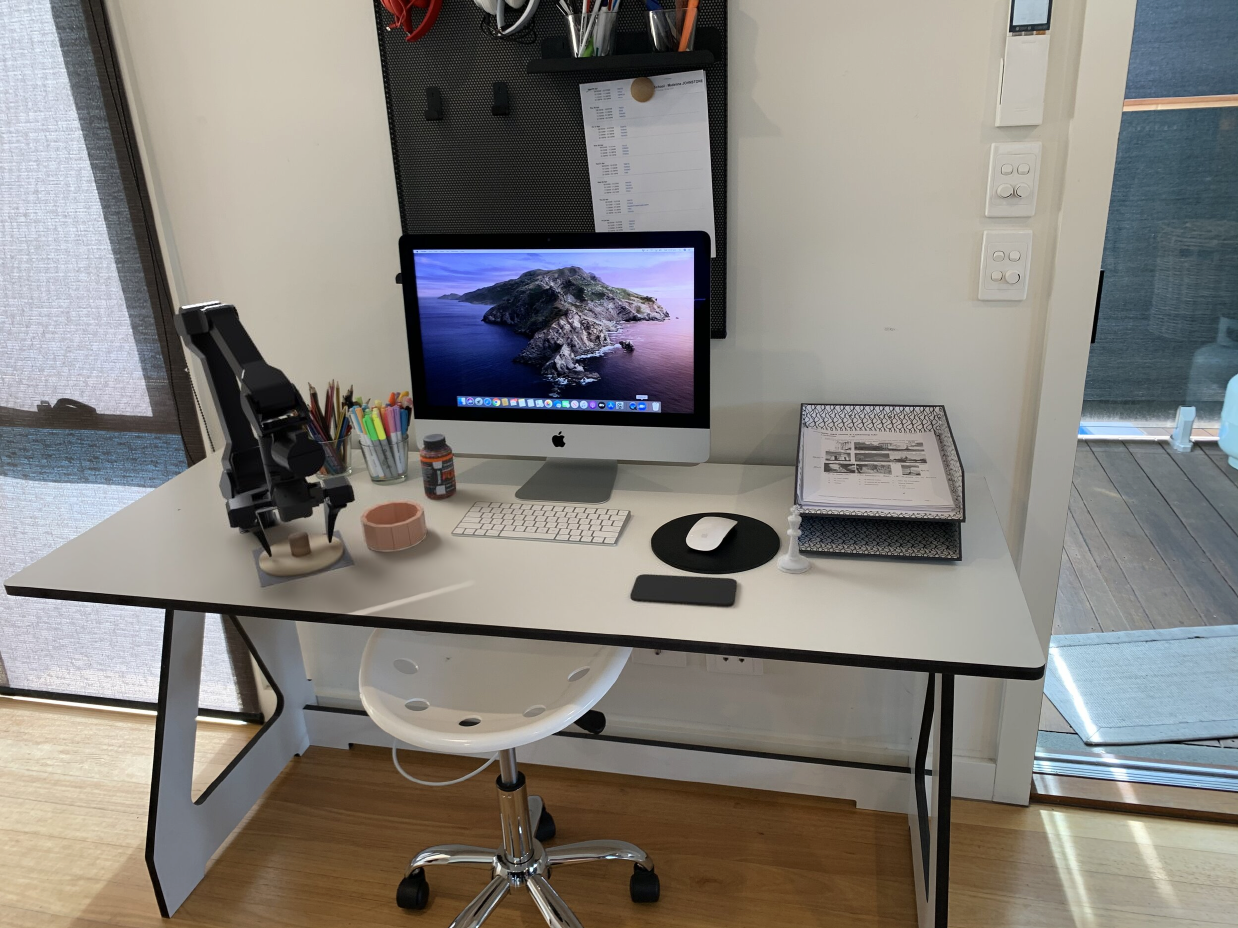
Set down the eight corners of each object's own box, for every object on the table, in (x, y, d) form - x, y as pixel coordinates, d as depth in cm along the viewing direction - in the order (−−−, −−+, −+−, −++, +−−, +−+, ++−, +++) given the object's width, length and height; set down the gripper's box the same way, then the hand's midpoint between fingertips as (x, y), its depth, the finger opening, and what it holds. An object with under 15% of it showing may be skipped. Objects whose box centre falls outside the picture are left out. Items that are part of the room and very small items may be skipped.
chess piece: (790, 576, 133) (792, 516, 129) (770, 563, 137) (771, 503, 133) (816, 568, 135) (819, 508, 131) (796, 555, 139) (798, 496, 135)
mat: (252, 553, 148) (252, 550, 148) (339, 533, 154) (338, 530, 154) (262, 590, 136) (261, 586, 136) (355, 567, 142) (354, 563, 142)
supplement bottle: (450, 500, 164) (442, 443, 160) (419, 499, 165) (411, 442, 161) (461, 487, 170) (455, 431, 165) (432, 486, 171) (424, 431, 167)
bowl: (360, 535, 152) (355, 509, 151) (417, 522, 156) (414, 496, 154) (372, 559, 144) (368, 532, 142) (433, 544, 148) (429, 517, 146)
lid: (255, 550, 148) (250, 530, 146) (335, 532, 153) (332, 511, 151) (264, 584, 137) (259, 562, 135) (350, 563, 142) (347, 541, 141)
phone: (637, 573, 135) (737, 578, 132) (638, 578, 136) (737, 583, 133) (628, 598, 129) (733, 604, 126) (628, 603, 129) (733, 609, 126)
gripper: (221, 490, 128) (243, 585, 134) (353, 463, 135) (369, 554, 141) (216, 465, 137) (237, 555, 143) (340, 441, 145) (355, 528, 151)
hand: (300, 548), depth 144 cm, fingers open, 9 cm apart
